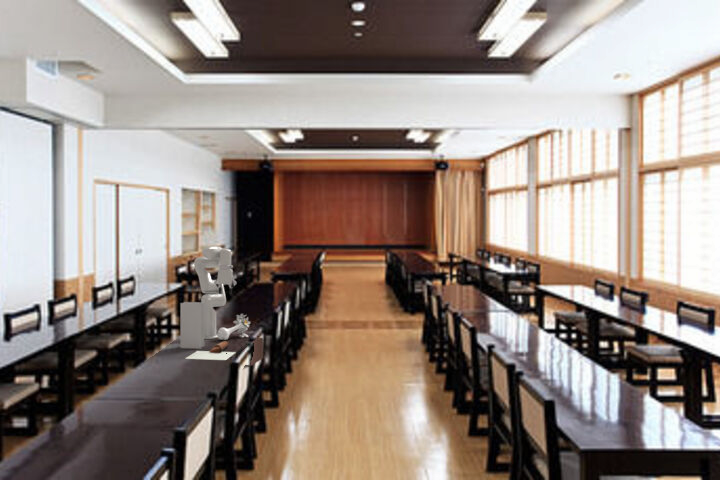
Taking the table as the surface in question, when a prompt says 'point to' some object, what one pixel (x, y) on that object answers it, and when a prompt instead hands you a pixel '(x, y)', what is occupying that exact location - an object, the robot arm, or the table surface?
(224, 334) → the flower vase
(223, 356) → the paper sheet
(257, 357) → the letter holder
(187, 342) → the tall grey upright box
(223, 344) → the sunglasses case
